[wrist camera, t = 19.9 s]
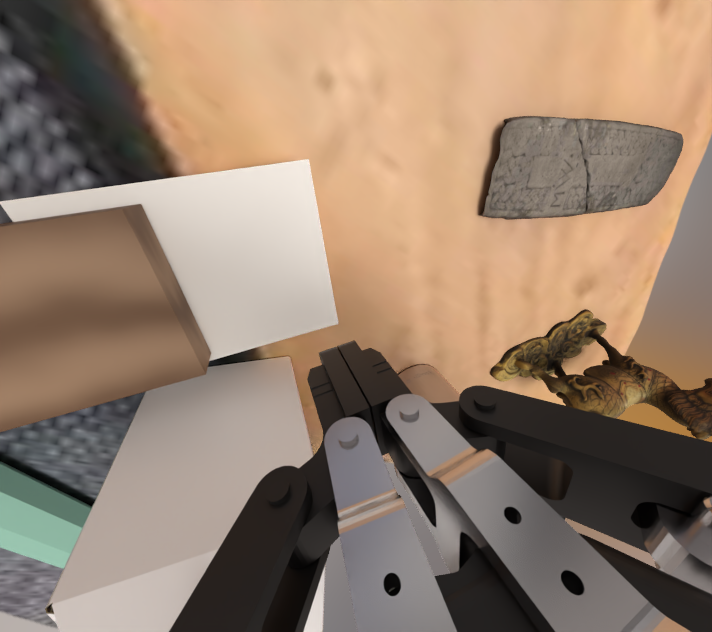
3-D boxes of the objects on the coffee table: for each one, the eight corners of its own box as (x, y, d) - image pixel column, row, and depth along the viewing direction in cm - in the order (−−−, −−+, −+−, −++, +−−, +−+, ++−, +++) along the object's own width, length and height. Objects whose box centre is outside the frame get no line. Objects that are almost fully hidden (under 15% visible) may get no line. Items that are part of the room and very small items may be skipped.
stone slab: (655, 213, 39) (493, 225, 29) (628, 211, 42) (472, 221, 32) (695, 126, 34) (519, 104, 25) (662, 130, 37) (491, 112, 27)
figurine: (588, 358, 55) (741, 441, 38) (484, 398, 49) (612, 519, 32) (611, 300, 48) (807, 369, 31) (495, 338, 42) (663, 449, 25)
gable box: (152, 371, 27) (-511, 1760, 3) (290, 353, 31) (422, 902, 8) (195, 505, 37) (102, 1100, 13) (295, 477, 41) (361, 886, 17)
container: (-162, 533, 18) (126, 613, 32) (-47, 462, 21) (175, 563, 34) (-109, 476, 23) (125, 567, 36) (-18, 423, 25) (169, 526, 38)
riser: (328, 306, 30) (338, 323, 27) (145, 356, 26) (129, 383, 22) (299, 161, 23) (308, 159, 20) (42, 196, 19) (-2, 201, 16)
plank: (211, 352, 24) (206, 374, 21) (-94, 433, 19) (-147, 472, 17) (141, 203, 18) (122, 208, 15) (-325, 270, 13) (-461, 293, 11)
